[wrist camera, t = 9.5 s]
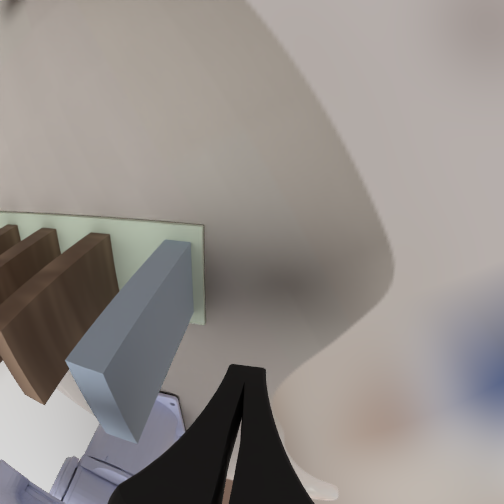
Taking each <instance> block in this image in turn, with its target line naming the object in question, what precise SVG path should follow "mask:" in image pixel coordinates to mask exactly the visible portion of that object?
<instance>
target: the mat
mask: <svg viewBox="0 0 504 504" xmlns="http://www.w3.org/2000/svg"><path fill="white" fill-rule="evenodd" d="M7 224H11V225H18V230H19V234H20V239H21V241H22V240H23V239H25V238H26V237H28V236H29V235H31V234H33V233H34V232H36V231H37V230H39V229H41V228H42V227H43V228H53V229H56V231H57V236H58V241H59V246H60V251H61V254H62V253H63V252H64V251H66V250H67V249H68V248H70V247H71V246H72V245H74V244H75V243H77V242H78V241H79V240H81V239H82V238H83V237H85V236H86V235H88V234H89V233H90V232H94V233H104V234H110V238H111V245H112V252H113V258H114V265H115V270H116V276H117V281H118V287H119V291H120V290H121V289H122V288H123V287H124V285H125V284H126V283H127V282H128V281H129V279H130V278H131V277H132V276H133V275H134V274H135V273H136V271H137V270H138V269H139V268H140V267H141V266H142V265H143V263H144V262H145V261H146V260H147V259H148V258H149V257H150V256H151V254H152V253H153V252H154V251H155V250H156V249H157V248H158V247H159V246H160V245H161V243H162V242H163V241H164V240H175V241H185V242H191V262H192V286H193V305H194V313H193V315H192V317H191V320H190V322H189V323H193V324H200V325H205V323H206V319H205V288H204V225H198V224H186V223H174V222H162V221H150V220H137V219H123V218H109V217H94V216H79V215H62V214H44V213H25V212H2V211H0V228H2V227H4V226H5V225H7Z"/></svg>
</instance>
